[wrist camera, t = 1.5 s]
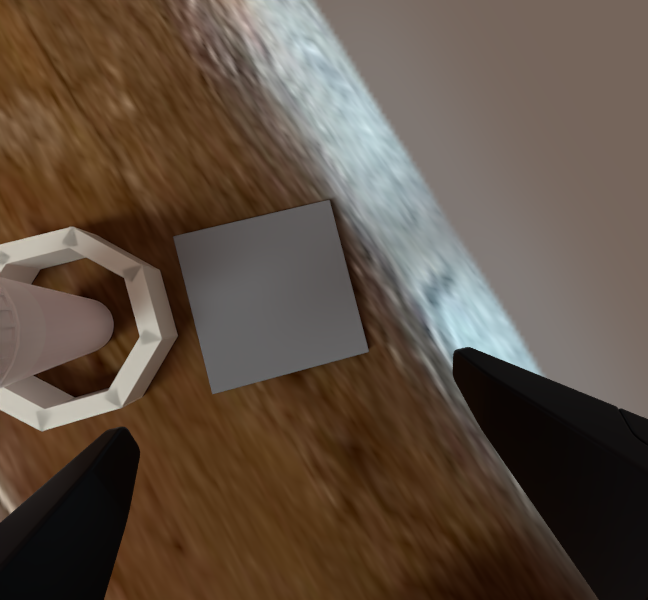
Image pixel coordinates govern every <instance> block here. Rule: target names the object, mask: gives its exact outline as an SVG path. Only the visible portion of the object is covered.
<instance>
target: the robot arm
mask: <svg viewBox="0 0 648 600" xmlns="http://www.w3.org/2000/svg"><path fill="white" fill-rule="evenodd" d="M453 377H454V380H455V382H456V384H457V386H458V388H459V390H460V391H461V393H462V395H463V397H464V399H465V401H466V402H467V404H468V406H469V408H470V410H471V411H472V413H473V415H474V417H475V419H476V421H477V422H478V424H479V426H480V428H481V429H482V431H483V432H484V434H485V435H486V437H487V438H488V440H489V441H490V443H491V444H492V446H493V447H494V448H495V450H496V451H497V453H498V454H499V456H500V457H501V459H502V460H503V461H504V463H505V464H506V466H507V467H508V469H509V470H510V472H511V473H512V474H513V476H514V477H515V479H516V480H517V482H518V483H519V485H520V486H521V488H522V489H523V490H524V492H525V493H526V495H527V496H528V498H529V499H530V501H531V502H532V503H533V505H534V506H535V508H536V509H537V511H538V512H539V514H540V515H541V516H542V518H543V519H544V521H545V522H546V524H547V525H548V527H549V528H550V529H551V531H552V532H553V534H554V535H555V537H556V538H557V540H558V541H559V542H560V544H561V545H562V547H563V548H564V550H565V551H566V553H567V554H568V556H569V557H570V558H571V560H572V561H573V563H574V564H575V566H576V567H577V569H578V570H579V571H580V573H581V574H582V576H583V577H584V579H585V580H586V582H587V583H588V584H589V586H590V587H591V589H592V590H593V592H594V593H595V595H596V596H597V597H598V599H599V600H648V419H646V418H644V417H641V416H639V415H636V414H634V413H631V412H629V411H626V410H624V409H618V408H617V407H616V406H614V405H611V404H609V403H606V402H604V401H602V400H599V399H596V398H594V397H592V396H589V395H587V394H584V393H582V392H579V391H577V390H574V389H572V388H569V387H567V386H565V385H562V384H560V383H557V382H554V381H552V380H550V379H547V378H545V377H542V376H540V375H537V374H535V373H532V372H530V371H528V370H525V369H523V368H520V367H518V366H515V365H513V364H510V363H508V362H505V361H503V360H500V359H498V358H495V357H493V356H491V355H488V354H486V353H483V352H481V351H478V350H476V349H473V348H471V347H465V348H461V349H457V350H455V351H454V354H453ZM139 458H140V449H139V446H138V445H137V443H136V441H135V440H134V438H133V437H132V435H131V433H130V432H129V430H128V429H127V428H126V427H117V428H113V429H109V430H107V431H105V432H104V433H103V434H102V435H101V436H99V437H98V438H97V439H96V440H95V441H94V442H93V443H91V444H90V445H89V446H88V447H87V448H86V449H84V450H83V451H82V452H81V453H80V454H79V455H78V456H76V457H75V458H74V459H73V460H72V461H71V462H70V463H68V464H67V465H66V466H65V467H64V468H63V469H61V470H60V471H59V472H58V473H57V474H56V475H55V476H53V477H52V478H51V479H50V480H49V481H48V482H47V483H45V484H44V485H43V486H42V487H41V488H40V489H38V490H37V491H36V492H35V493H34V494H33V495H32V496H30V497H29V498H28V499H27V500H26V501H25V502H24V503H22V504H21V505H20V506H19V507H18V508H17V509H15V510H14V511H13V512H12V513H11V514H10V515H9V516H7V517H6V518H5V519H4V520H3V521H2V522H0V600H104V597H105V594H106V591H107V587H108V584H109V580H110V577H111V574H112V570H113V567H114V563H115V560H116V557H117V553H118V550H119V547H120V543H121V540H122V536H123V533H124V530H125V526H126V522H127V519H128V514H129V510H130V505H131V500H132V495H133V490H134V484H135V479H136V474H137V469H138V463H139Z"/></svg>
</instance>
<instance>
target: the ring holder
mask: <svg viewBox="0 0 648 600" xmlns="http://www.w3.org/2000/svg"><path fill="white" fill-rule="evenodd" d="M86 257H87V258H89V259H91V260H92V261H94V262H96V263H98V264H100V265H101V266H103V267H105V268H107V269H109V270H111V271H112V272H114V273H116V274H118V275H120V276H121V277H123V278H124V279H125V283H126V287H127V290H128V294H129V298H130V301H131V305H132V309H133V312H134V316H135V320H136V323H137V327H138V331H139V334H140V338H139V339H138V341H137V343H136V344H135V346H134V348H133V349H132V351H131V353H130V355H129V356H128V358H127V360H126V361H125V363H124V365H123V366H122V368H121V370H120V371H119V373H118V375H117V376H116V378H115V380H114V381H113V383H112V385H111V386H110V388H107V389H103V390H100V391H96V392H93V393H89V394H86V395H82V396H79V397H73V396H71V395H69V394H67V393H65V392H63V391H61V390H60V389H58V388H56V387H54V386H52V385H50V384H48V383H46V382H44V381H43V380H41V379H39V378H37V377H35V376H33V375H32V376H30V377H27V378H25V379H22V380H19V381H17V382H14V383H12V384H10V385H7V386H5V387H2V388H0V410H2V411H4V412H6V413H8V414H9V415H11V416H13V417H15V418H17V419H19V420H21V421H23V422H25V423H27V424H29V425H31V426H32V427H34V428H36V429H38V430H40V431H44V430H47V429H50V428H54V427H57V426H61V425H64V424H68V423H71V422H74V421H78V420H81V419H85V418H88V417H92V416H95V415H98V414H102V413H105V412H109V411H112V410H115V409H119V408H123V407H125V406H126V405H128V404H130V403H132V402H134V401H136V400H138V399H140V398H141V397H143V395H144V393H145V391H146V390H147V388H148V386H149V384H150V383H151V381H152V379H153V378H154V376H155V374H156V373H157V371H158V369H159V367H160V366H161V364H162V362H163V361H164V359H165V357H166V355H167V354H168V352H169V350H170V349H171V347H172V345H173V344H174V342H175V340H176V338H177V337H178V334H177V330H176V327H175V323H174V319H173V316H172V312H171V309H170V305H169V301H168V298H167V294H166V290H165V287H164V283H163V279H162V276H161V272H160V270H159V269H157V268H155V267H153V266H152V265H150V264H148V263H146V262H144V261H142V260H141V259H139V258H137V257H135V256H133V255H132V254H130V253H128V252H126V251H124V250H123V249H121V248H119V247H117V246H115V245H114V244H112V243H110V242H108V241H106V240H105V239H103V238H101V237H99V236H98V235H95V234H92V233H89V232H87V231H84V230H81V229H78V228H76V227H69V228H65V229H61V230H57V231H53V232H49V233H45V234H41V235H37V236H33V237H29V238H25V239H21V240H17V241H13V242H9V243H5V244H1V245H0V277H3V278H6V279H10V280H14V281H18V282H22V283H27V284H32V282H33V280H34V279H35V277H36V276H37V274H38V272H39V271H40V269H43V268H47V267H51V266H55V265H59V264H63V263H67V262H71V261H75V260H78V259H82V258H86Z"/></svg>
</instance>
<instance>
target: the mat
mask: <svg viewBox="0 0 648 600" xmlns="http://www.w3.org/2000/svg"><path fill="white" fill-rule="evenodd" d="M173 238H174V242H175V246H176V250H177V254H178V258H179V262H180V266H181V270H182V274H183V278H184V282H185V286H186V290H187V294H188V298H189V302H190V306H191V310H192V314H193V318H194V322H195V326H196V330H197V334H198V338H199V342H200V346H201V350H202V354H203V358H204V362H205V366H206V370H207V374H208V378H209V382H210V386H211V390H212V394H215V393H219V392H222V391H226V390H230V389H233V388H237V387H241V386H244V385H248V384H252V383H255V382H259V381H263V380H267V379H270V378H274V377H278V376H281V375H285V374H289V373H292V372H296V371H300V370H303V369H307V368H311V367H315V366H318V365H322V364H326V363H329V362H333V361H337V360H340V359H344V358H348V357H351V356H355V355H359V354H362V353H366V352H369V350H368V346H367V343H366V339H365V335H364V331H363V327H362V323H361V319H360V316H359V312H358V308H357V304H356V300H355V296H354V293H353V289H352V285H351V281H350V277H349V273H348V269H347V266H346V262H345V258H344V254H343V250H342V246H341V243H340V239H339V235H338V231H337V227H336V223H335V219H334V216H333V212H332V208H331V204H330V200H327V201H322V202H318V203H314V204H310V205H305V206H301V207H297V208H292V209H288V210H284V211H280V212H275V213H271V214H267V215H263V216H258V217H254V218H250V219H246V220H241V221H237V222H233V223H228V224H224V225H220V226H216V227H211V228H207V229H203V230H199V231H194V232H190V233H186V234H182V235H177V236H173Z"/></svg>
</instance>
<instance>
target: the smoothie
mask: <svg viewBox="0 0 648 600" xmlns="http://www.w3.org/2000/svg"><path fill="white" fill-rule="evenodd" d="M113 329H114V321H113V317H112V314H111V312H110V311H109V309H108V308H107V307H106V306H105V305H104V304H102V303H101V302H99V301H96V300H93V299H89V298H85V297H81V296H76V295H72V294H68V293H64V292H60V291H56V290H52V289H47V288H43V287H39V286H35V285H31V284H27V283H22V282H18V281H14V280H10V279H6V278H3V277H0V388H2V387H5V386H7V385H10V384H12V383H14V382H17V381H19V380H22V379H25V378H27V377H30V376H32V375H35V374H37V373H40V372H43V371H45V370H48V369H50V368H53V367H55V366H58V365H61V364H63V363H66V362H68V361H71V360H73V359H76V358H79V357H81V356H84V355H86V354H89V353H91V352H94V351H97V350H99V349H100V348H102V347H103V346H104V345H105V344H106V343H107V342H108V341H109V340H110V338H111V336H112V333H113Z"/></svg>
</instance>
